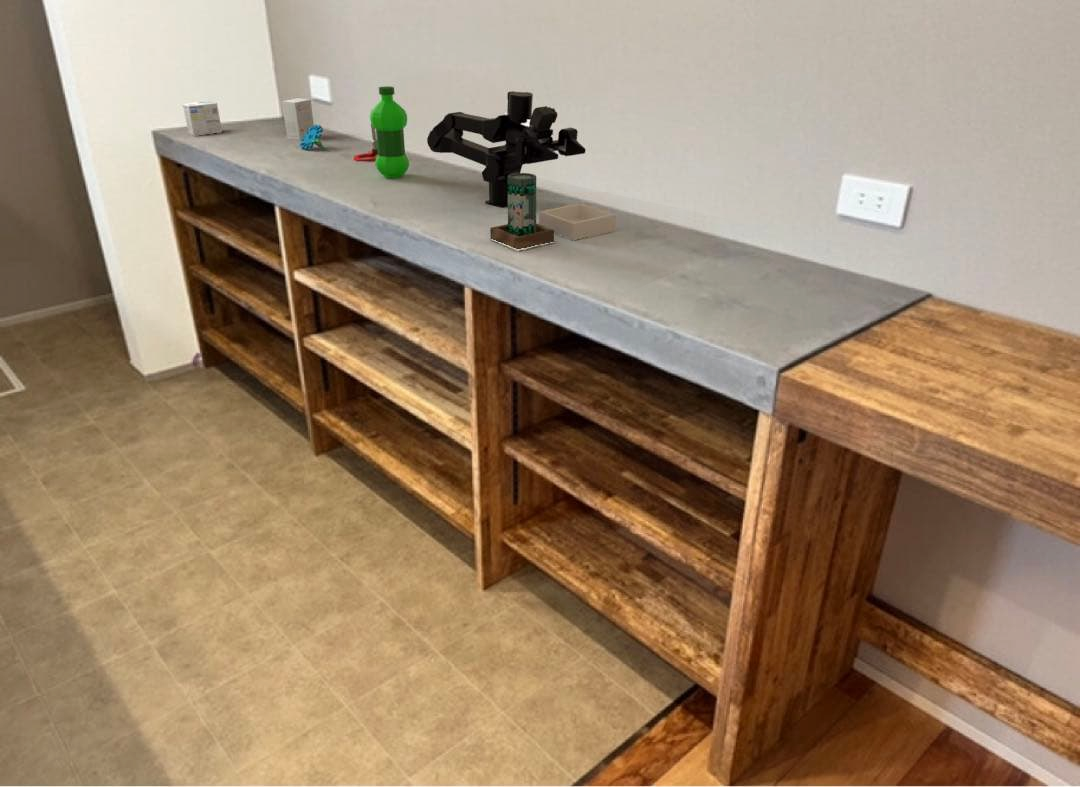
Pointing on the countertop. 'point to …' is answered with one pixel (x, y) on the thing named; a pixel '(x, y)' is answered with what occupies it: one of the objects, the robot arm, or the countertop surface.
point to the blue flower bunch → (312, 138)
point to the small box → (297, 117)
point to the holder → (524, 241)
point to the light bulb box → (202, 118)
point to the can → (521, 203)
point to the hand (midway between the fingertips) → (571, 153)
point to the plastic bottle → (390, 135)
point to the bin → (578, 221)
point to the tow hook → (370, 153)
